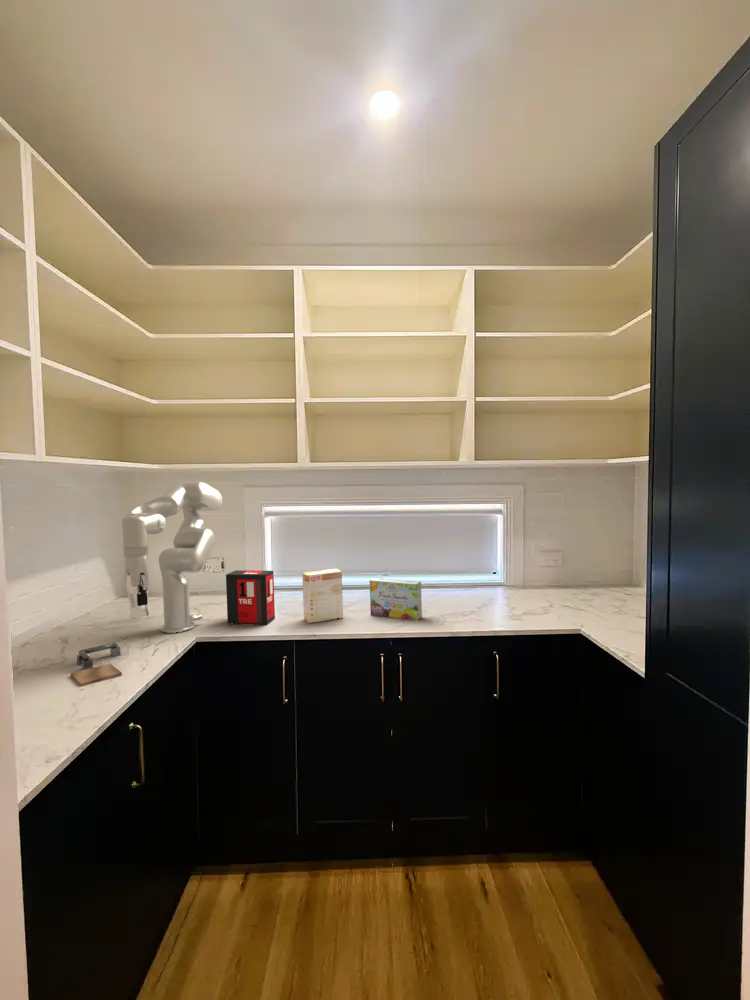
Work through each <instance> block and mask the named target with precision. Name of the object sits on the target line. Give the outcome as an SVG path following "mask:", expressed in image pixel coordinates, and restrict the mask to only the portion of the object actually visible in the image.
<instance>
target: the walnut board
mask: <svg viewBox="0 0 750 1000" xmlns="http://www.w3.org/2000/svg"><path fill="white" fill-rule="evenodd" d="M122 673H123V672H122V671H120V670H119V669H118V668H116V667H115V666H114V665H112V663H107V664H102V665H98V666H95V667H94V666H93V668H90V669H86V670H84V669H83V670H78V671H75V672H71V673H70V677H71V678H72V679H73V680H74V681H75V682H76V683H77V684H78V685H79V686H80V687H83V685H84V686H88V685H90V683H91V684H94V682H95V683H97V682H102V681H105V679H106V680H109V678H110V679H113V678H116V677H119V676H123V675H122ZM101 680H102V681H101Z"/></svg>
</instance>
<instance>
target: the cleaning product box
mask: <svg viewBox="0 0 750 1000" xmlns="http://www.w3.org/2000/svg"><path fill="white" fill-rule="evenodd" d="M225 584H226V585H225V586H226V588H225V589H226V610H227V611H226V612H227V624H228V623H233V624H232V625H243V624H253V626H268V625H270V624H271V623H272V622H273V621H274V620H276V612H275V611H276V610H275V609H276V608H275V581H274V570H239V569H238V570H237V569H236V570H233V571H231V572H229V573H226V574H225Z"/></svg>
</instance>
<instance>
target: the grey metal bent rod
mask: <svg viewBox="0 0 750 1000" xmlns="http://www.w3.org/2000/svg"><path fill="white" fill-rule="evenodd" d="M118 644H119V643H117V642H111V643H107V644H106V643H105V644H101V645H98V646H92V647H87V648H84V649H80V650H79V651H78V654H76V664H77V665H78V666H81V667H82V669H83V670H86V669H90V668H94V665H93V664H94V662H93V661H94V660H93V658H92V657H90V656H91V655H90V654H93V653H97V652H101V651H105V650H108V649H109V652H110V656H111V657H112V656H114V657H118V656H117V655H119V656H121V646H120V645H118ZM81 664H82V665H81Z"/></svg>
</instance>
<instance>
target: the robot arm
mask: <svg viewBox="0 0 750 1000" xmlns="http://www.w3.org/2000/svg"><path fill="white" fill-rule="evenodd" d="M222 505H223V496H222V494H221V492H220V491H219V490H218V489H216V488H214V486H211V484H210V485H209V484H208V483H206V482H203V481H180V482H177V483H176V484H174V485H173V486H172V487H170V488H169V489H168V490H167V491H166V492H165V493H163V494H162V495H161V496H158V497H157V498H156V497H155V498H154V499H151V500H149V501H146V502H143V503H141V504H139V505H137V506H135V507H134V508H133V509H132V510H130V511H129V512H128V513H127V514H126V515H125V516H124V517H123V518H122V520H121V525H122V542H123V544H122V545H123V558H124V583H126V581H127V574H128V575H130V576H131V577H130V578H131V586H133V587H135V586H136V585H137V592H138V594H137V605H138V606H142V605H147V606H148V604H149V603H148V600H147V586H148V580H149V567H148V559H147V557H148V556H149V547H148V535H158V534H161V533H162V532H164V530H165V529H166V527H167V520H166V518H169V517H171V516H175V515H176V514H178V513H179V511H181V510H182V513H183V521H182V523H181V525H180V526H179V528H178V530H177V532H176V534H175V536H174V538H173V541H172V543H173V547H168V548H166V549H164V550H162V551H161V552H160V554H159V556H158V566H159V570H160V574H161V580H162V581H161V582H162V597H163V598H162V599H163V601H162V602H163V604H162V605H163V625H161V626H160V627H159V630H160V631H159V632H161V631H162V632H161V633H164V632H166V634H175V633H176V632H178V633H183V631H184V632H187V630H188V631H190V630H193V629H194V628H195V627H196V625H195V621H201V620H203V614H197V615H196V614H194V615H193V614H191V605H190V603H191V602H190V583H189V579H188V578H187V576H186V574H187V573H188V574H196V573H201V572H202V571H203V569H204V568H205V567H206V565H207V562H208V560H209V558H210V556H211V554H212V552H213V549H214V548H215V547H214V546H215V543H216V538H215V534H214V533H215V532H213V530H212V529H210V528H207V527H205V522H204V519H203V518H202V515H201V514H200V511H217V510H219V509H220V508H221V507H222ZM140 579H141V582H142V584H141V585H138V584H139V581H140ZM141 586H142V587H141ZM140 587H141V589H140ZM176 634H177V633H176Z"/></svg>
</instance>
